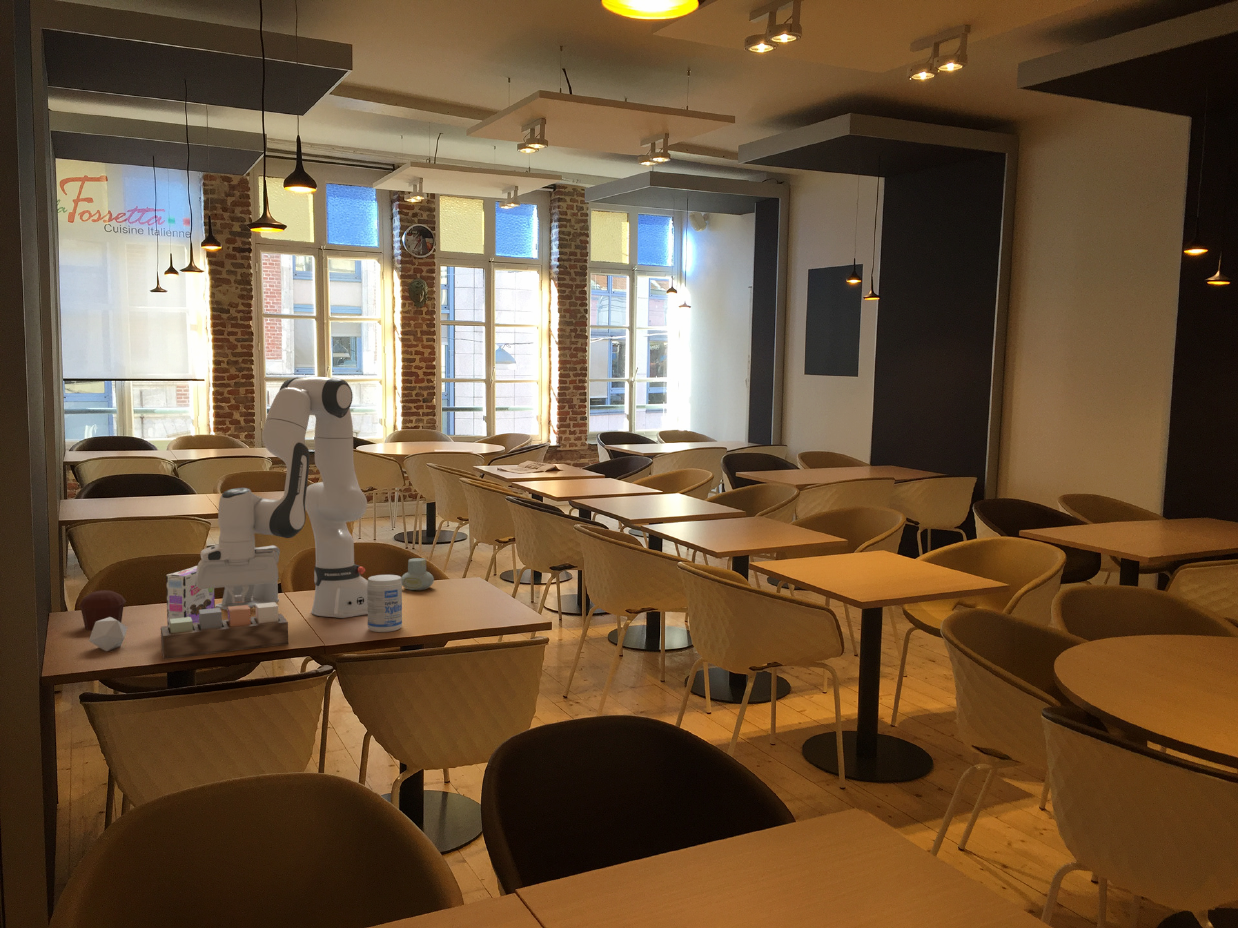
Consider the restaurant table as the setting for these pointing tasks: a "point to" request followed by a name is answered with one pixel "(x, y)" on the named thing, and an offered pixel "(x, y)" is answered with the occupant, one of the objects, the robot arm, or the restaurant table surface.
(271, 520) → the robot arm
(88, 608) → the muffin
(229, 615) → the terracotta key
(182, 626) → the sage key
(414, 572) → the air freshener
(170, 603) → the candy box
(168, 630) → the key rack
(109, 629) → the die
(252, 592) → the phone holder
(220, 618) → the slate key
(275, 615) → the ivory key
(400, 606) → the supplement tub
